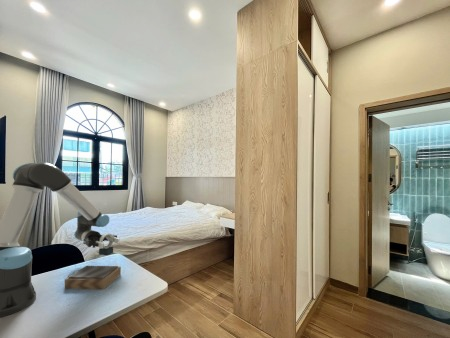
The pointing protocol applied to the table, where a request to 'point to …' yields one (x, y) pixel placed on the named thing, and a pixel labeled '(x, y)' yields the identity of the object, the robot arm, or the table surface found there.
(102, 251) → the watch
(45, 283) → the table surface
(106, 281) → the riser
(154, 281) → the table surface
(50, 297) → the table surface
